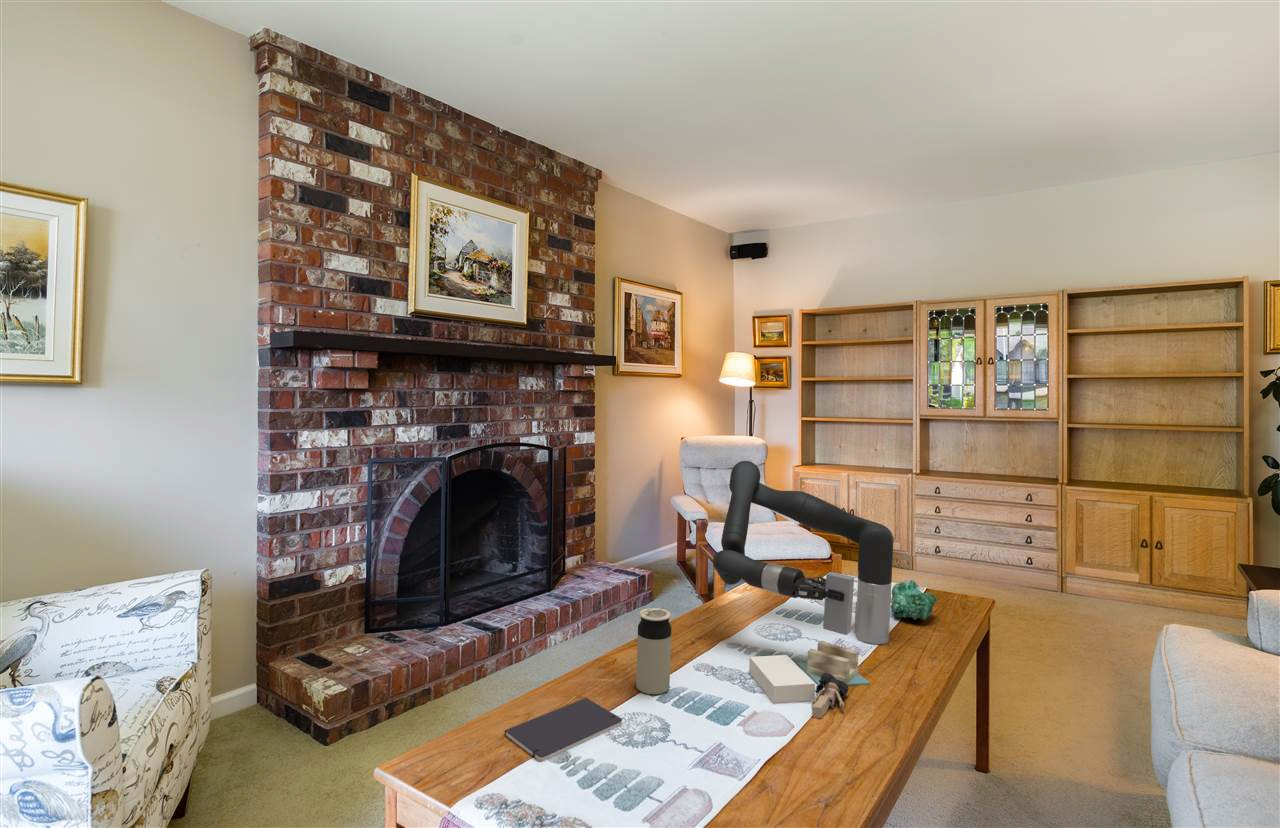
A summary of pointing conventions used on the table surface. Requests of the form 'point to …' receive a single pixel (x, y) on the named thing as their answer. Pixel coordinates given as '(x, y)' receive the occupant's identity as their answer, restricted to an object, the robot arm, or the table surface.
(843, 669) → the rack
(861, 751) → the table surface
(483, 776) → the table surface
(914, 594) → the mineral
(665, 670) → the travel mug
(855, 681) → the mat
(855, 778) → the table surface
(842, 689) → the toy figure
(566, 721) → the notebook
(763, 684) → the cream flat block
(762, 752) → the table surface
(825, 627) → the grey rectangular block
